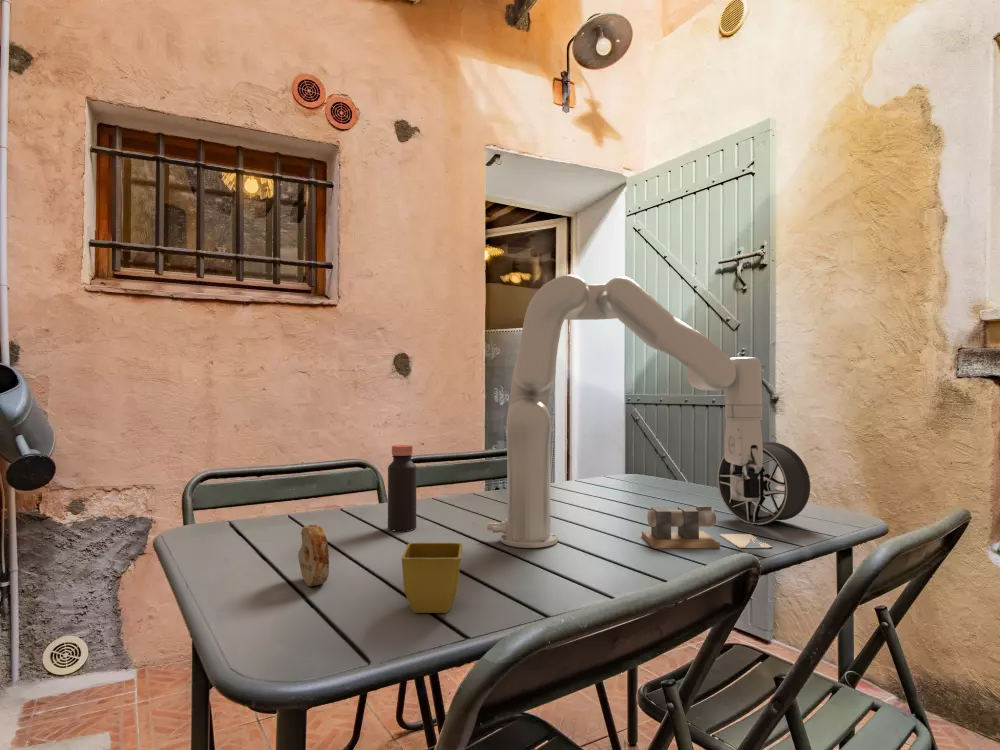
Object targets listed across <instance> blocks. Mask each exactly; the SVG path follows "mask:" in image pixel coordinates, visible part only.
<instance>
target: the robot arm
mask: <svg viewBox="0 0 1000 750" xmlns="http://www.w3.org/2000/svg"><path fill="white" fill-rule="evenodd" d="M614 319H617V320H619V321H620V322H621V323H622V324H623V325H624V326H626V328H628V329H629V330H630V331H631V332H633V333H634V335H636V336H637V337H638V338H639V339H640V340H641V341H642V342H643V343H644V344H646V345H647V346H649V347H650V348H652V349H654V350H655V351H659V352H662V353H664V354H666V355H669V356H671V357H672V358H674V359H675V360H677V361H678V362H679V363H682V364H683V365H684V366H685V367H686V372H685V373H686V374H685V376H686V379H687V382H688V384H690V386H692V387H693V388H695V389H697V390H700V391H722V390H724V404H725V406H724V408H725V409H724V412H725V413H724V414H725V421H726V422H725V429H724V446H723V448H724V451H723V452H724V453H723V454H724V455H723V456H724V458H725V460H726V461H727V462H729V465H730V467H731V468H730V473H731V475H734V474H744V473H745V478H746V479H743V485H744V497H745V498H759V496H760V493H759V479H760V472H761V469H762V467H763V468H764V464H763V463H762V462H763V461H764V460H763V459H764V458H763V456H764V453H763V444H762V443H763V433H762V425H761V421H762V420H763V399H762V398H763V397H762V396H763V389H762V387H763V386H762V382H763V381H762V362H761V360H760V359H759V358H758V357H754V356H753V357H752V356H737V357H734V356H733V357H729V356H728V354H726V353H725V352H724V351H723V350H722V349H721V348H719V347H718V346H717V345H716V344H715V343H713V341H712V340H711V339H710V338H708V337H707V336H705V335H704V334H703V333H701V332H699V331H698V330H697V329H695V328H693V327H691V326H690V325H689V324H687V323H686V322H684V321H682V319H679V318H677V317H676V316H674V315H673V314H672V312H670V311H669V310H667V309H666V307H664V306H663V305H662V304H661V303H660V302H659V301H657V300H656V299H655V298H654V297H653V295H651V294H649V293H648V292H647V291H646V290H645V289H644V288H643V287H642V286H641V285H640V284H638V283H637V282H636V281H634V280H633V279H631V278H630V277H627V276H624V275H623V276H616V277H614V278H612V279H610V280H609V281H608V282H606V283H599V284H588V283H587V282H586V281H585V280H584V278H582V277H580V276H579V275H575V274H564V275H560V276H558V277H555V278H553V279H551V280H549V281H548V282H546V283H545V284H543V285H542V286H541V287H540V288H539V289H538V290H537V291H536V292H535V293H534V295H533V296H532V297H531V300H530V302H529V303H528V306H527V308H526V311H525V315H524V319H523V324H522V330H521V336H520V343H519V349H518V355H517V359H516V361H515V364H514V368H513V374H512V380H511V386H510V387H511V388H510V394H509V395H510V396H509V401H508V409H507V417H506V441H507V442H506V450H507V451H506V456H507V457H506V459H507V460H506V461H507V462H506V465H507V466H506V468H507V470H506V471H507V479H506V480H507V481H506V482H507V485H506V486H507V490H506V491H507V495H506V496H507V499H506V500H507V517H505V520H502V521H501V522H494V521H493V522H488V521H487V523H486V524H487V525H486V526H487V527H486V528H487V532H492V533H493V534H497V533H501V535H500V542H501V543H502V544H504V545H507V546H509V547H514V548H522V549H538V548H546V547H550V546H553V545H555V544H557V542H558V539H559V538H558V534H556V533H554V532H553V531H551V440H552V439H551V438H552V437H551V436H552V419H551V414H550V411H549V406H550V405H549V404H550V400H551V399H550V398H551V393H552V384H553V383H554V381H555V378H556V375H557V373H556V372H557V368H556V367H557V358H558V349H559V343H560V338H561V331H562V327H563V324H564V322H565V320H567V321H568V320H569V321H571V320H573V321H574V320H575V321H576V320H577V321H579V320H582V321H583V320H588V321H589V320H591V321H592V320H614ZM747 463H750V464H747ZM748 468H751V469H750V471H749V469H748Z"/></svg>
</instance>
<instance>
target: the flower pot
mask: <svg viewBox="0 0 1000 750" xmlns="http://www.w3.org/2000/svg"><path fill="white" fill-rule="evenodd" d="M462 551H463V543H461V542H409V543H407V545H406V547H405V550H404V551H403V553H402V555H401V567H402V577H403V578H402V579H403V589H404V592H405V593H404V594H405V597H406V599H407V603H408V604H409V606H410V608H411V609H412V611H413V612H414V613H416V614H447V613H448V612H450V610H451V607H452V606H453V603H454V601H455V598H456V595H457V591H458V587H459V586H458V585H459V579H460V577H459V576H460V568H461V561H462Z"/></svg>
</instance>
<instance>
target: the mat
mask: <svg viewBox="0 0 1000 750" xmlns="http://www.w3.org/2000/svg"><path fill="white" fill-rule="evenodd" d="M719 536H720V537H721V538H723V539H724V540H726V541H727V542H729V543H730V544H731V545H733V546H735V547H736V546H737V548H738V547H739V548H743V547H745V546H746V545H747V544H748V543H749V542H750V539H752V541H753V540H755V539H756V538H757V537H756V536H755V535H752V534H751V533H721V534H720V533H719ZM753 537H754V538H753ZM753 542H754V541H753ZM754 543H755V542H754ZM760 543H762V542H760ZM760 543H759V544H760ZM764 544H765V545H764ZM760 546H761V547H773V546H772V545H770V544H768V543H766V542H765V543H762V544H760ZM739 548H738V549H739Z"/></svg>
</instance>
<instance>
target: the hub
mask: <svg viewBox="0 0 1000 750" xmlns="http://www.w3.org/2000/svg"><path fill="white" fill-rule="evenodd" d="M743 479H746V478H745V474H734V475H730V488H731V499H733V500H737V501H747V502H752V503H755V502H754V501H760V496H759V498H745V497H744V485H743ZM759 493H760V479H759Z"/></svg>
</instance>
